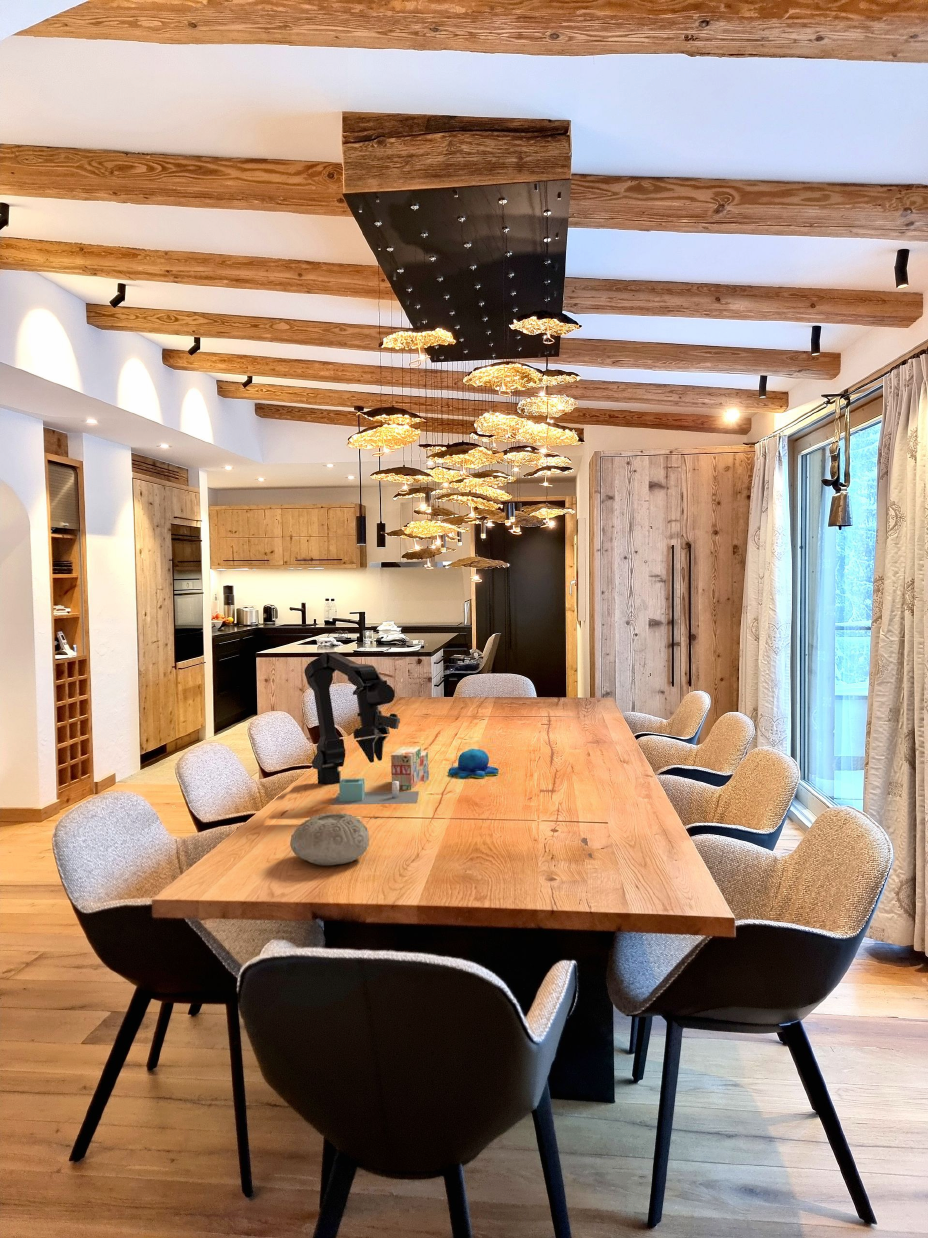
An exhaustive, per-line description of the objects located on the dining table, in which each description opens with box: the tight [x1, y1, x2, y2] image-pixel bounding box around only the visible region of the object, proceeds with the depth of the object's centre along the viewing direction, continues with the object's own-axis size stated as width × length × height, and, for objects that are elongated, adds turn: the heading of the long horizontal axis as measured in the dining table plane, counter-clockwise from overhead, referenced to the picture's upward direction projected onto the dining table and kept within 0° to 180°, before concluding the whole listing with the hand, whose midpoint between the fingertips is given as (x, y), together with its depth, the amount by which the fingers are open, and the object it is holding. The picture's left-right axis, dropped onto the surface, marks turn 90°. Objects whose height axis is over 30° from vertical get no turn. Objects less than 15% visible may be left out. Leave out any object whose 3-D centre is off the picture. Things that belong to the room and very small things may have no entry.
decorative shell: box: [289, 811, 370, 867], centre depth 196 cm, size 18×18×10 cm
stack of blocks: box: [390, 746, 430, 791], centre depth 268 cm, size 21×6×12 cm, turn 168°
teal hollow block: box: [338, 777, 366, 801], centre depth 247 cm, size 6×6×5 cm
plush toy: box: [447, 748, 500, 780], centre depth 285 cm, size 17×17×8 cm
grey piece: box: [331, 781, 420, 806], centre depth 247 cm, size 24×14×6 cm, turn 91°
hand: (376, 761), depth 248 cm, fingers open, 9 cm apart
